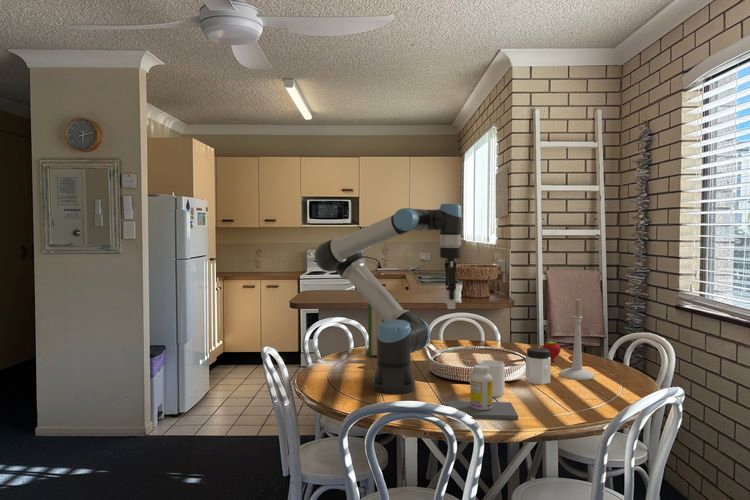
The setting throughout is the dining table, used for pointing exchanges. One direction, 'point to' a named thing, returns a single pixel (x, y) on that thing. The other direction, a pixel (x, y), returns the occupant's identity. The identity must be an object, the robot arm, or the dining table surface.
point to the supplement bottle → (481, 388)
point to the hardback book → (373, 330)
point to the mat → (496, 412)
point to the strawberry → (552, 349)
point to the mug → (494, 376)
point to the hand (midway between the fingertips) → (450, 306)
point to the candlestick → (577, 351)
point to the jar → (538, 365)
